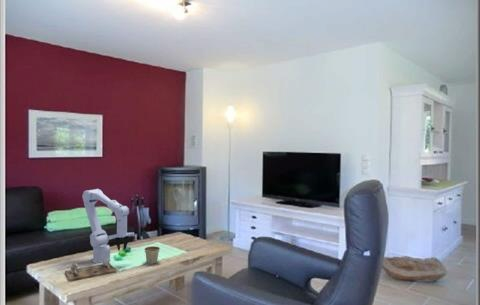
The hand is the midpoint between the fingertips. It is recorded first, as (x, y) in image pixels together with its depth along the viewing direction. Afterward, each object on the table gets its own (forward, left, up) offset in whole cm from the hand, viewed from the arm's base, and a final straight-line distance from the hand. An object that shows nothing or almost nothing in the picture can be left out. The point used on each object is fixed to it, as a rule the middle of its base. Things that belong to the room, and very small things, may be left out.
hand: (121, 249), depth 208 cm
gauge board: (+18, +3, -9) cm, 21 cm away
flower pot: (-17, +5, -10) cm, 20 cm away
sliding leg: (+9, +2, -8) cm, 12 cm away
